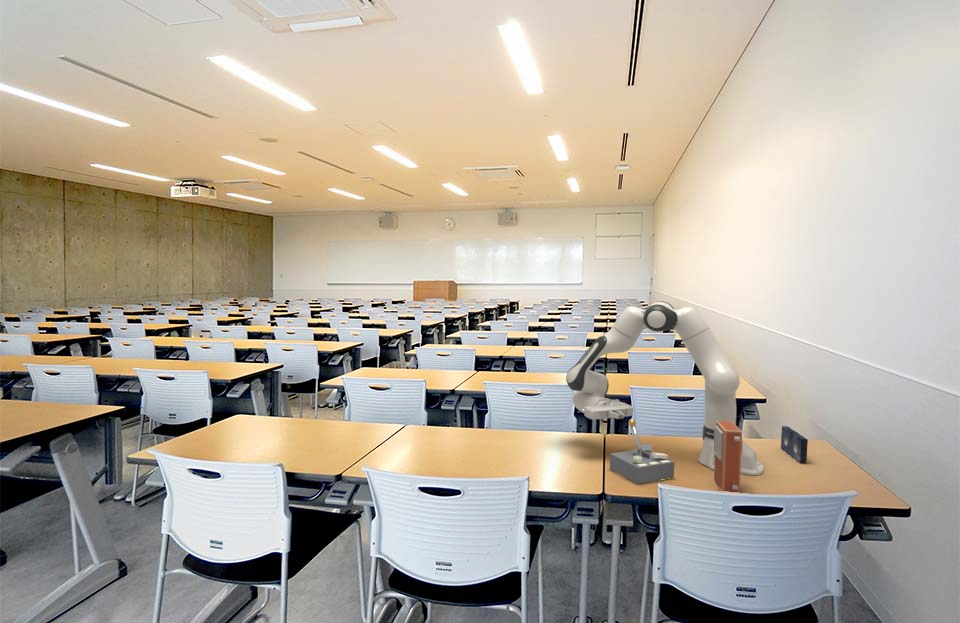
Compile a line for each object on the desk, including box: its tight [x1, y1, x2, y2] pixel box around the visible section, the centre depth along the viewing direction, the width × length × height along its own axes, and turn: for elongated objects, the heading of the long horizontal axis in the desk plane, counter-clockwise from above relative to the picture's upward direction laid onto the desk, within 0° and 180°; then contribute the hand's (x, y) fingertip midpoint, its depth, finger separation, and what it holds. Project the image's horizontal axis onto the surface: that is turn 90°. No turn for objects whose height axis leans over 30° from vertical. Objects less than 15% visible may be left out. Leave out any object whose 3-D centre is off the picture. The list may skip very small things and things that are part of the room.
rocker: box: [652, 452, 669, 459], centre depth 193 cm, size 3×5×1 cm, turn 112°
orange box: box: [713, 421, 743, 492], centre depth 183 cm, size 21×7×15 cm
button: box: [633, 455, 642, 464], centre depth 189 cm, size 3×3×2 cm
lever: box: [628, 419, 643, 454], centre depth 197 cm, size 3×3×13 cm
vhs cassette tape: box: [780, 425, 809, 465], centre depth 215 cm, size 18×3×10 cm, turn 170°
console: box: [609, 449, 675, 485], centre depth 195 cm, size 16×16×8 cm
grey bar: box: [641, 443, 654, 451], centre depth 201 cm, size 1×6×2 cm, turn 112°
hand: (620, 416), depth 205 cm, fingers closed
